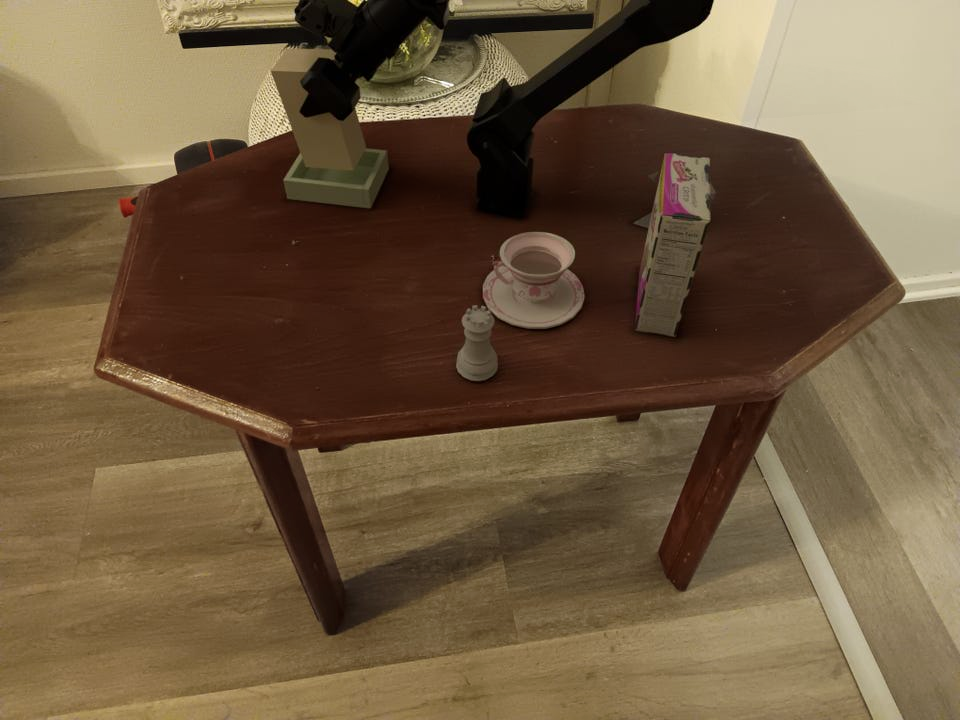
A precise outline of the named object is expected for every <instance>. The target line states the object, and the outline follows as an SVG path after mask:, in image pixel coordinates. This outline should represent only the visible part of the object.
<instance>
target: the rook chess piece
mask: <svg viewBox="0 0 960 720" xmlns="http://www.w3.org/2000/svg"><path fill="white" fill-rule="evenodd" d="M461 324H462V327H464V329H463V334H464V336H465V342H464V345H463V346H462V347H461V348H460V350H459V351H458V353H457V356H456V365H455V367H456V369H457V372H458V373H459V374H460V375H461V376H462V377H463V378H465V379H466V380H469V381H471V382H482V381H487V380H488V379H489V378H491V377H494V375H495V374H496V372H498V368H499V363H498V356H497V353H496V351H495V349H494V348H493V346H492V344H491V339H490V337H491V336H492V332H493V331H492V328H493V327H494V325H495V318H494V316H493V314H492V312H491V311H490V310H489V309H488V310H487V306H485V305H481V307H480V308H478V304H476V305H475V304H474V305H472V308H469V307H468V308H467V309H466V311H465V314H463V316H462V317H461Z"/></svg>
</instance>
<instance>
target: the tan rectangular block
mask: <svg viewBox="0 0 960 720" xmlns="http://www.w3.org/2000/svg"><path fill="white" fill-rule="evenodd" d="M335 54H336V53H335V52H334V51H333V50H332V49H327V48H326V49H325V48H324V49H323V48H286V49H285V50H284V52H283V53H282V55H281V56H280V57H279V58H278V60H277V61H276V63H274V65H273V67H272V68H271V69H270V74H271V76H272V79H273V81H274V84H275V87H276V90H277V92H278V95H279V99H280V100H281V104H282V107H283V109H284V111H285V115H286V117H287V119H288V123H289V125H290V128H291V131H292V134H293V136H294V138H295V142H296V144H297V147H298V150H299V153H301V155H302V158H303V161H304V163H305V166H306V167H311V168H326V169H341V170H354V169H355V167H356V165H357V163H358V162H359V160H360V158H361V156H362V154H363V152H364V151H365V149H366V148H367V145H366V142H365V138H364V134H363V131H362V127H361V124H360V120H359V117H358V112H357V110H356V107H355V108H354V110H353V112H352V113H351V114H350V115H349V116H348V117H347V118H346V119H345V120H344V121H340V120H337V119H336V118H335V117H334V116H333V115H332V114H331V113H330V112H329V113H324V114H320V115H316V116H312V117H307V118H305V117H304V116H303V115H302V114H301V113H300V112H299V111H300V109H301V107H302V105H303V103H304V101H305V99H306V97H307V95H308V92H307V91H306V90H305V89H304V88H302V86H301V83H300V80H301V79H302V77H303V76H304V75H305V73H306V72H307V71H308V69H309V68H310V67H311V66H312V64H313V63H314V62H315V61H316V60H317V59H318V58H319V57H321V58H330V59H331V60H332V61H333V62H334V63H335V64H336V65H337V66H338V67H339V68H340V66H341V65H342V63H343V62H341V64H340V65H338V64H337V63H336V62H335V61H334V60H333V57H334V55H335Z"/></svg>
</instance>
